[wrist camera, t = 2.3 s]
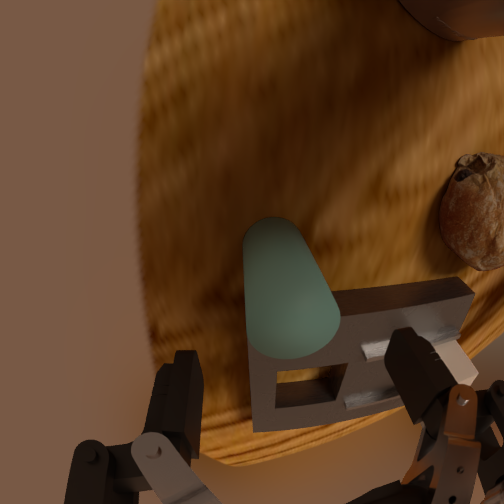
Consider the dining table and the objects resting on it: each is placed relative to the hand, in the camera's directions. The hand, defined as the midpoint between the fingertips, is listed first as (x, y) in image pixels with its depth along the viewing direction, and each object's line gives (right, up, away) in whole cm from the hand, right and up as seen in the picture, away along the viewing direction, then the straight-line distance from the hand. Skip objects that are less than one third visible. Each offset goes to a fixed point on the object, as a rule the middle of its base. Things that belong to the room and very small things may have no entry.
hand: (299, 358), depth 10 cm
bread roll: (+18, +8, +8) cm, 21 cm away
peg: (0, +4, +8) cm, 9 cm away
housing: (+8, -6, +14) cm, 17 cm away
